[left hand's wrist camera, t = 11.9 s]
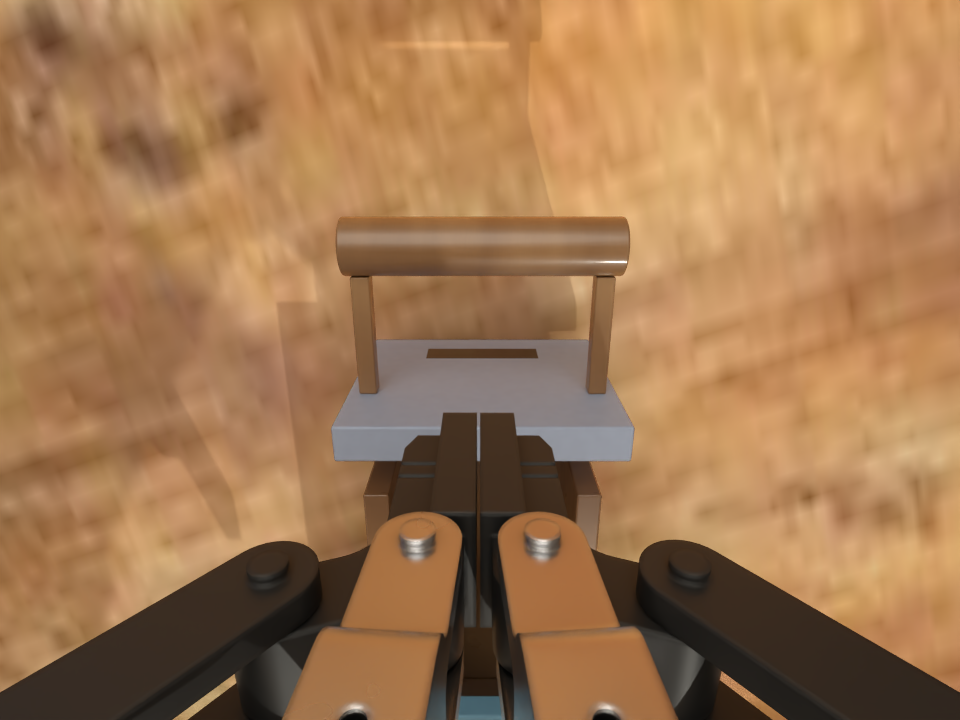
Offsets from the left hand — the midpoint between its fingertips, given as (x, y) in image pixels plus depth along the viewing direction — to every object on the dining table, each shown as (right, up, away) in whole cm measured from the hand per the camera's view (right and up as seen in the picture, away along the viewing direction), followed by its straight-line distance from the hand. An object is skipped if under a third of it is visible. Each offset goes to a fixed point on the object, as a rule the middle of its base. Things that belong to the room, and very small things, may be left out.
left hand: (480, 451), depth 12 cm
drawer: (0, -3, +15) cm, 15 cm away
